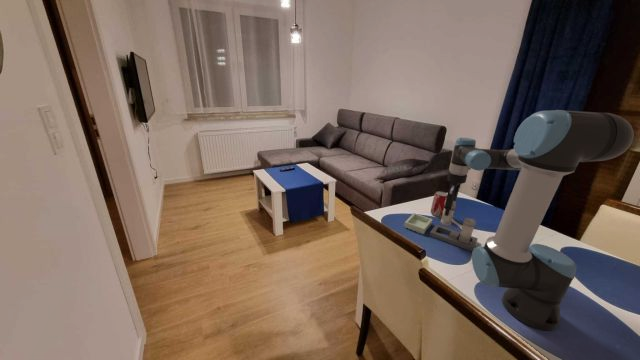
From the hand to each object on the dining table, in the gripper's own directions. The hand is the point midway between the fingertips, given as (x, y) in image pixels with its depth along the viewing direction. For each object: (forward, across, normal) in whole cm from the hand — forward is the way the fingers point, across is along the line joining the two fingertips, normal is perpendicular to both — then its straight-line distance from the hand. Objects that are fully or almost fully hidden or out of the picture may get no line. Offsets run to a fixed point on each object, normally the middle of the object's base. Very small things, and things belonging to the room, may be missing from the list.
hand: (446, 218), depth 123 cm
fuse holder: (+9, 0, -4) cm, 10 cm away
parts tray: (+9, +1, +12) cm, 16 cm away
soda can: (+9, +21, +8) cm, 24 cm away
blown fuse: (+3, 0, 0) cm, 3 cm away
